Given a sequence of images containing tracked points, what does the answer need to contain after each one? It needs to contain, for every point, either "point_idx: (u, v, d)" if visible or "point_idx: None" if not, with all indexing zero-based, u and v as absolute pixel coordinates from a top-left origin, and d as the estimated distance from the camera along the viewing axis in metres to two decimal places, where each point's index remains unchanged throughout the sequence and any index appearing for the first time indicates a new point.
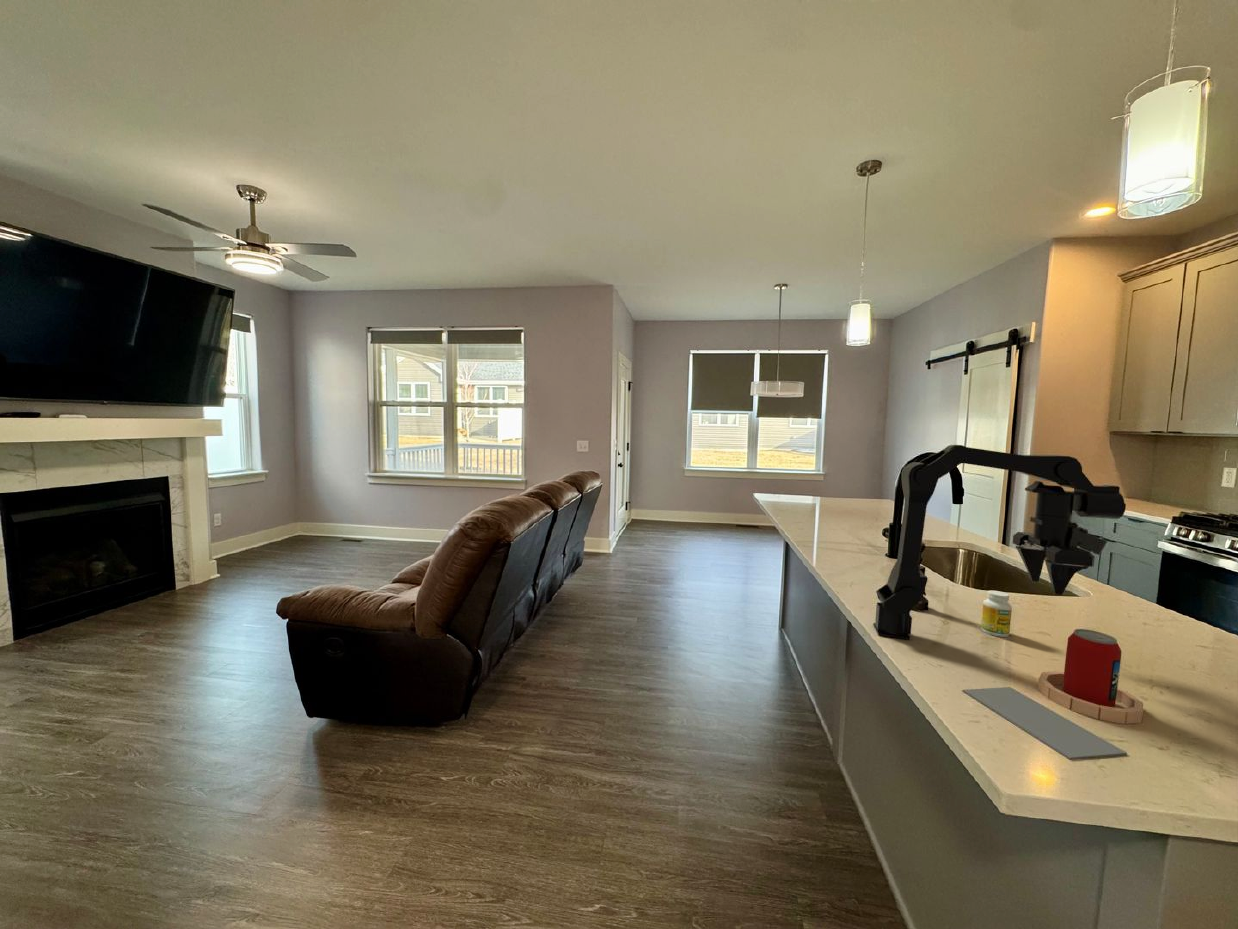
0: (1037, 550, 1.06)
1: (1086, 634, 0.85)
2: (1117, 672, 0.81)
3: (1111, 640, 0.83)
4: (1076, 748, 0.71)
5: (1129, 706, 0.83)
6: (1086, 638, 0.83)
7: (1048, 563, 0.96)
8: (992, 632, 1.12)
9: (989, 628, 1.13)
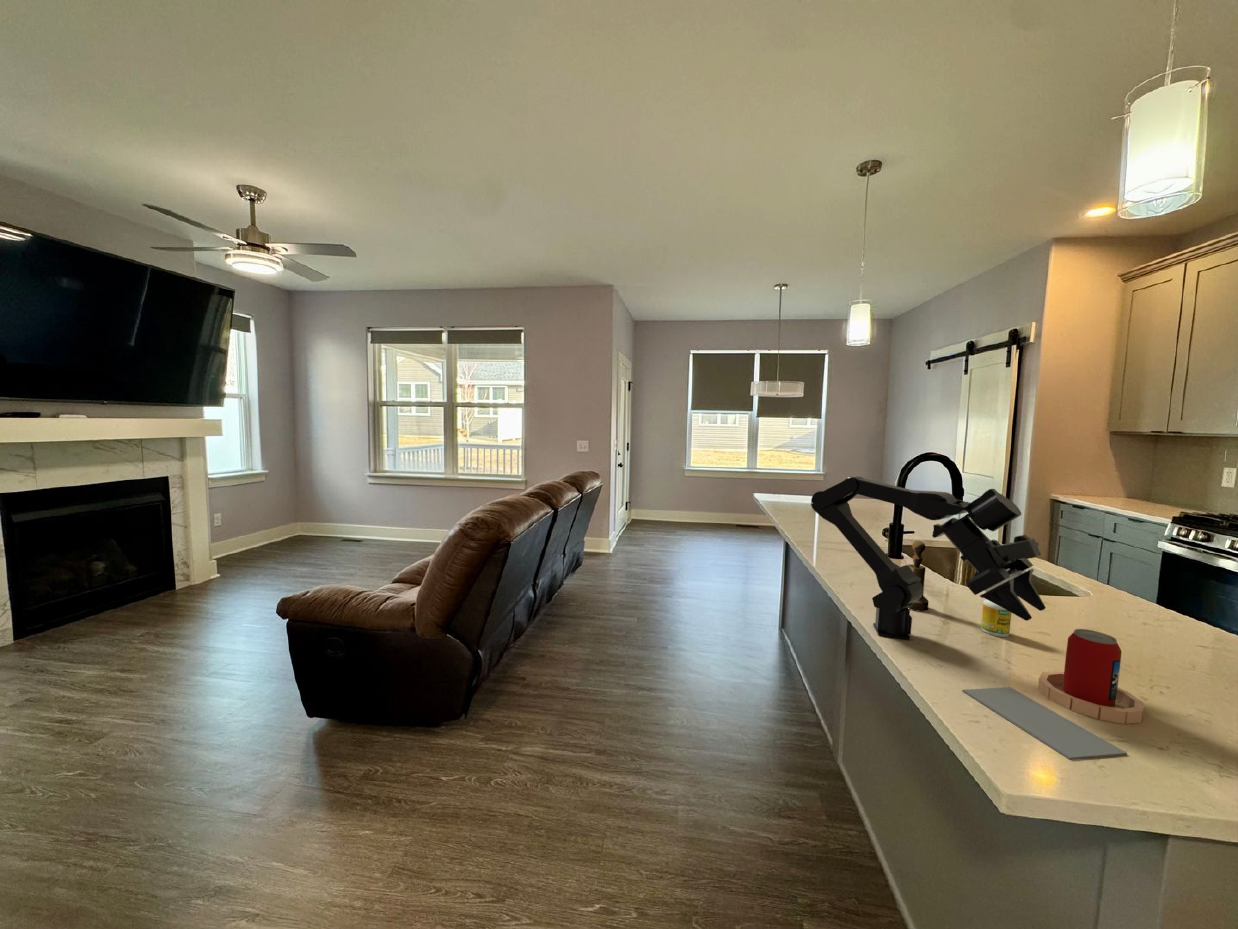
0: (1016, 577, 0.97)
1: (1086, 634, 0.85)
2: (1117, 672, 0.81)
3: (1111, 640, 0.83)
4: (1076, 748, 0.71)
5: (1129, 706, 0.83)
6: (1086, 638, 0.83)
7: None
8: (992, 632, 1.12)
9: (989, 628, 1.13)
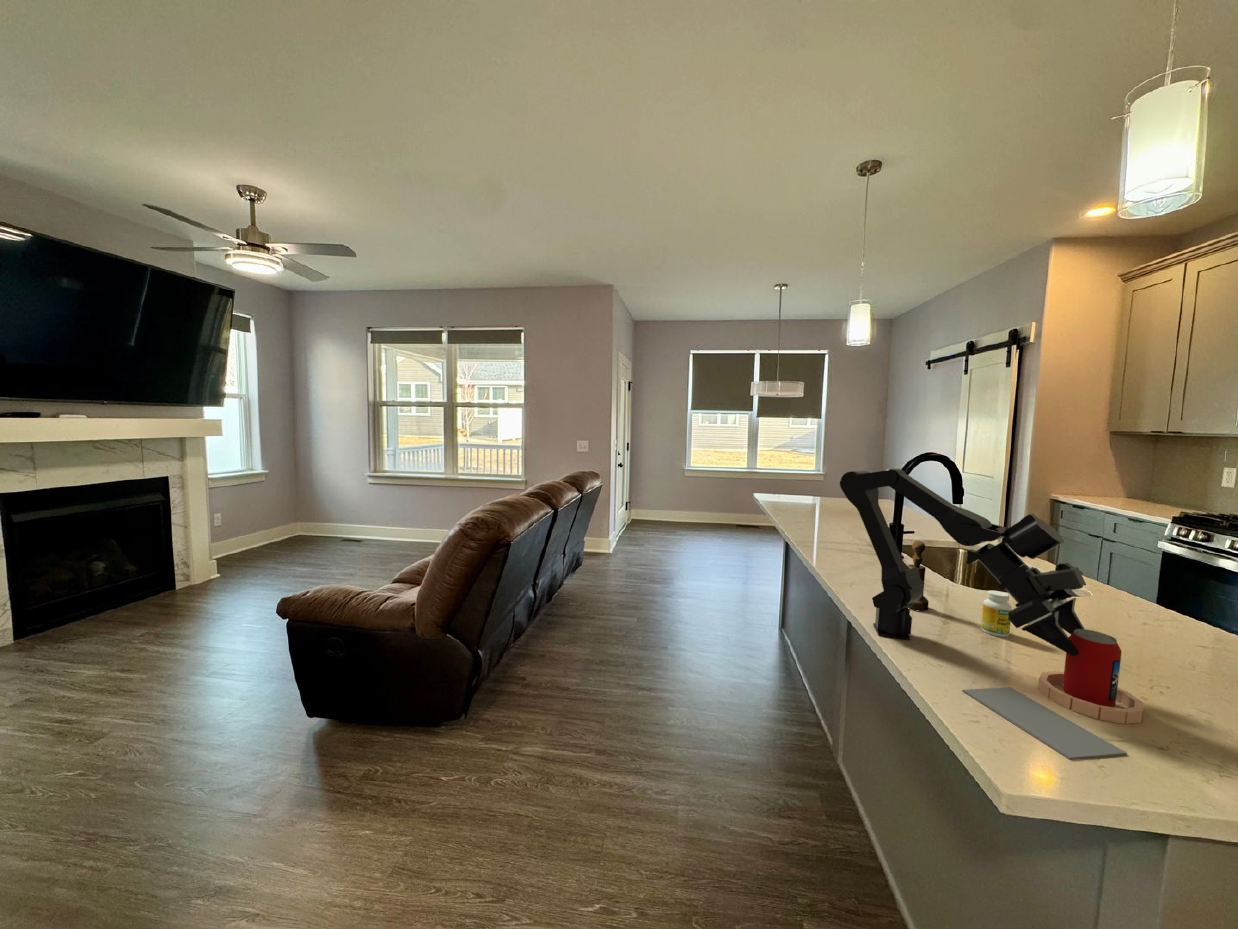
0: (1058, 607, 0.92)
1: (1086, 634, 0.85)
2: (1117, 672, 0.81)
3: (1111, 640, 0.83)
4: (1076, 748, 0.71)
5: (1129, 706, 0.83)
6: (1086, 638, 0.83)
7: None
8: (992, 632, 1.12)
9: (989, 628, 1.13)
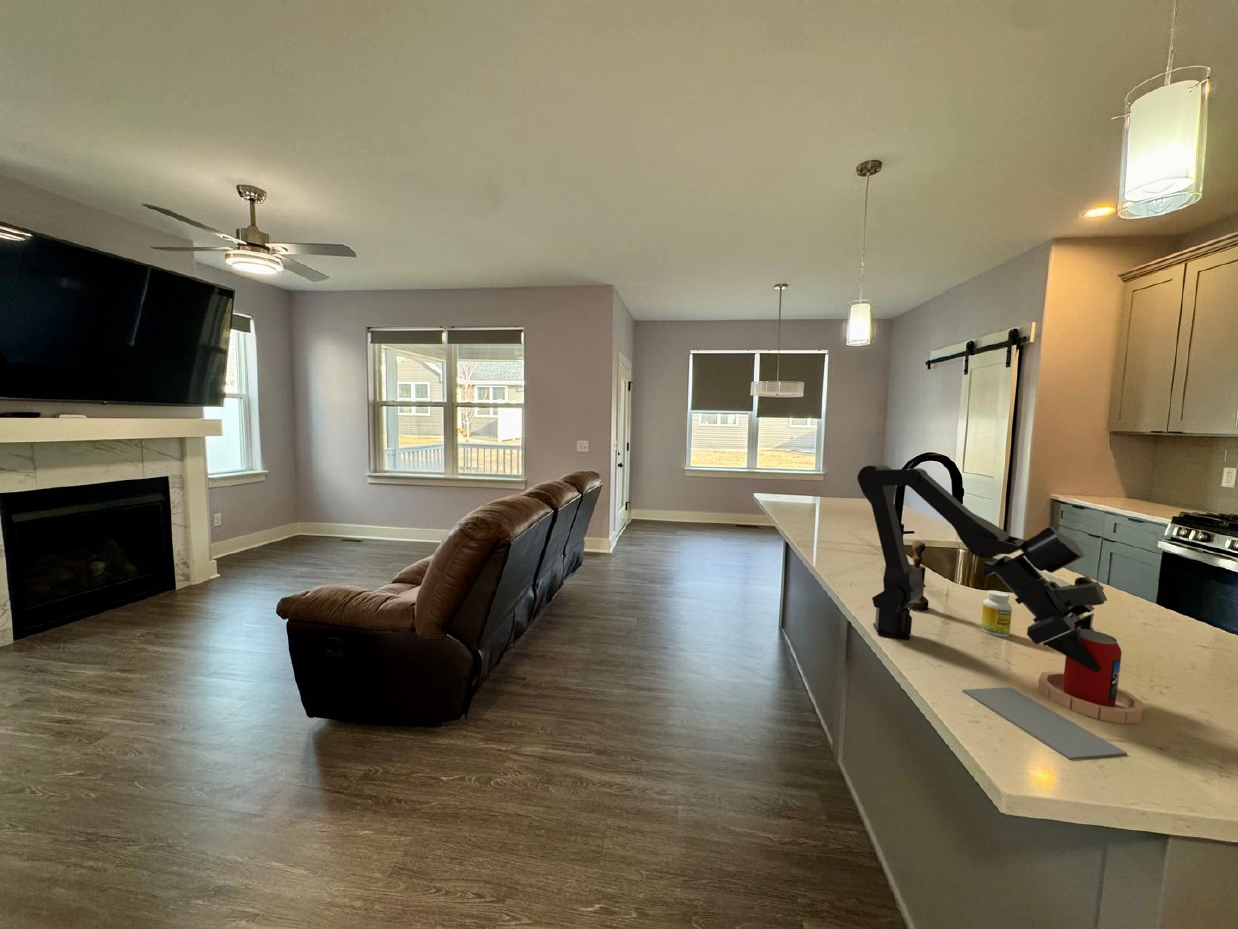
0: (1075, 623, 0.89)
1: (1086, 634, 0.85)
2: (1117, 672, 0.81)
3: (1111, 640, 0.83)
4: (1076, 748, 0.71)
5: (1129, 706, 0.83)
6: (1086, 638, 0.83)
7: None
8: (992, 632, 1.12)
9: (989, 628, 1.13)
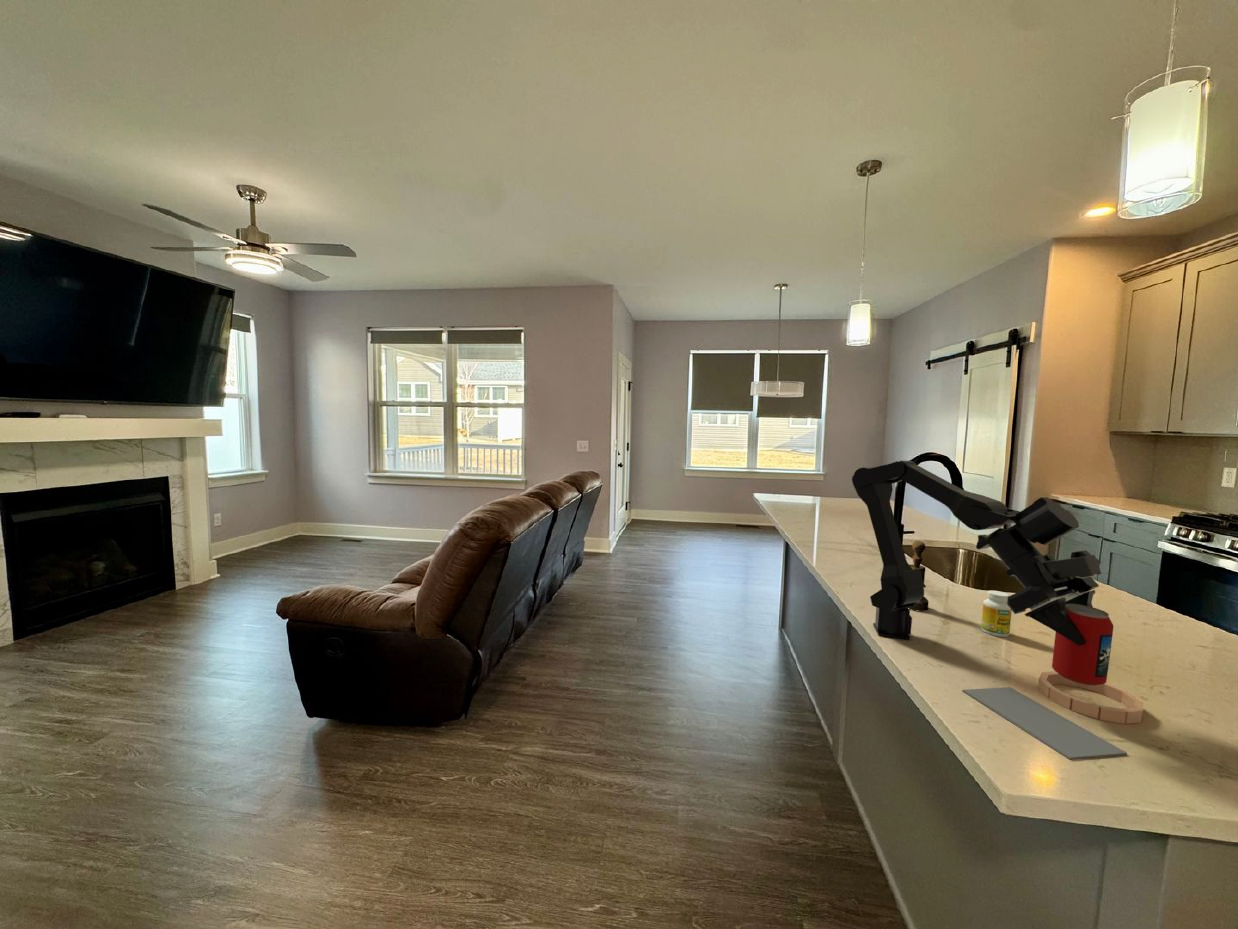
0: (1073, 599, 0.85)
1: (1077, 608, 0.81)
2: (1106, 648, 0.78)
3: (1102, 615, 0.79)
4: (1076, 748, 0.71)
5: (1129, 706, 0.83)
6: (1073, 611, 0.80)
7: None
8: (992, 632, 1.12)
9: (989, 628, 1.13)
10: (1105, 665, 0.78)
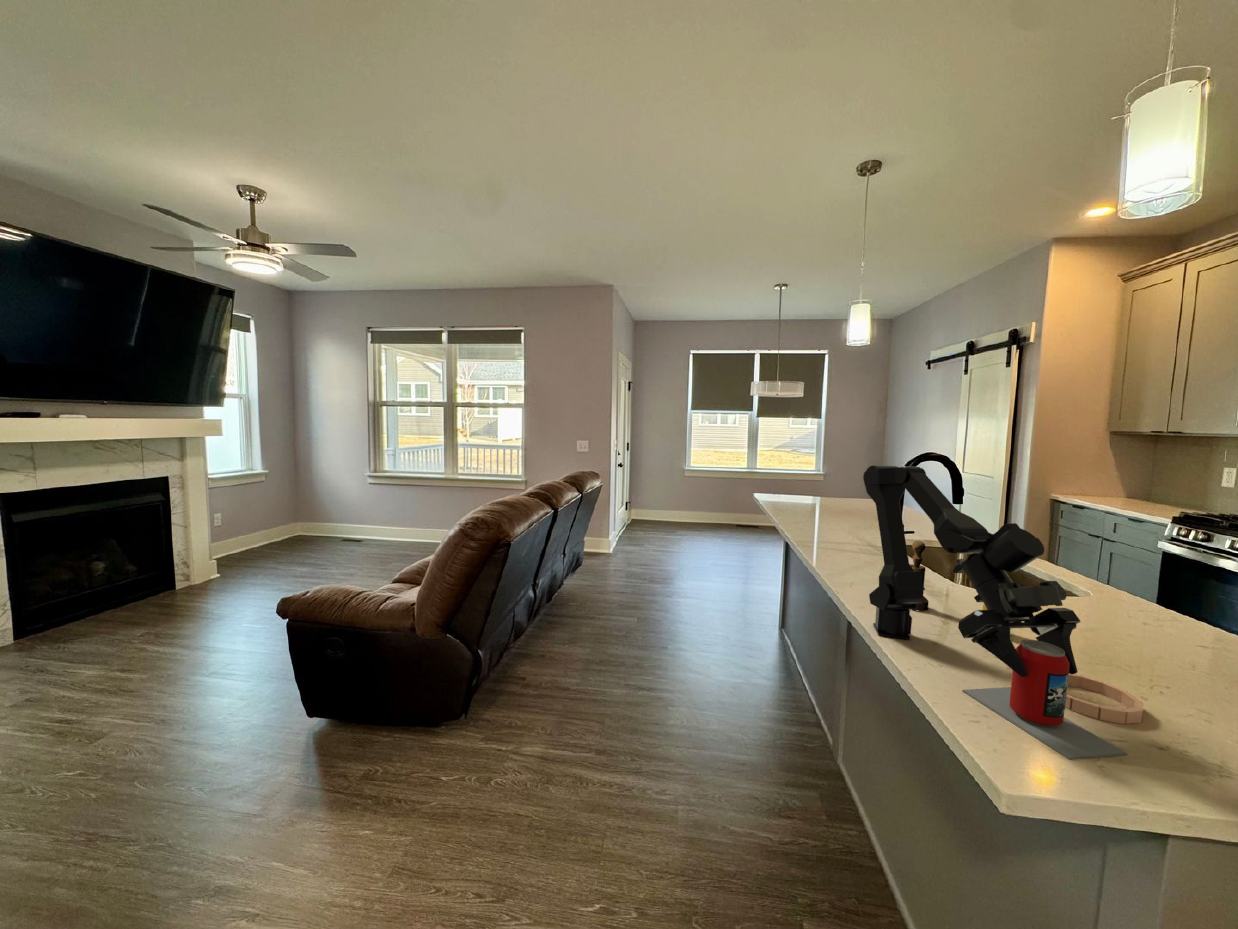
0: (1050, 631, 0.82)
1: (1034, 644, 0.79)
2: (1056, 687, 0.75)
3: (1057, 653, 0.76)
4: (1076, 748, 0.71)
5: (1129, 706, 0.83)
6: (1025, 646, 0.78)
7: None
8: None
9: None
10: (1056, 706, 0.75)
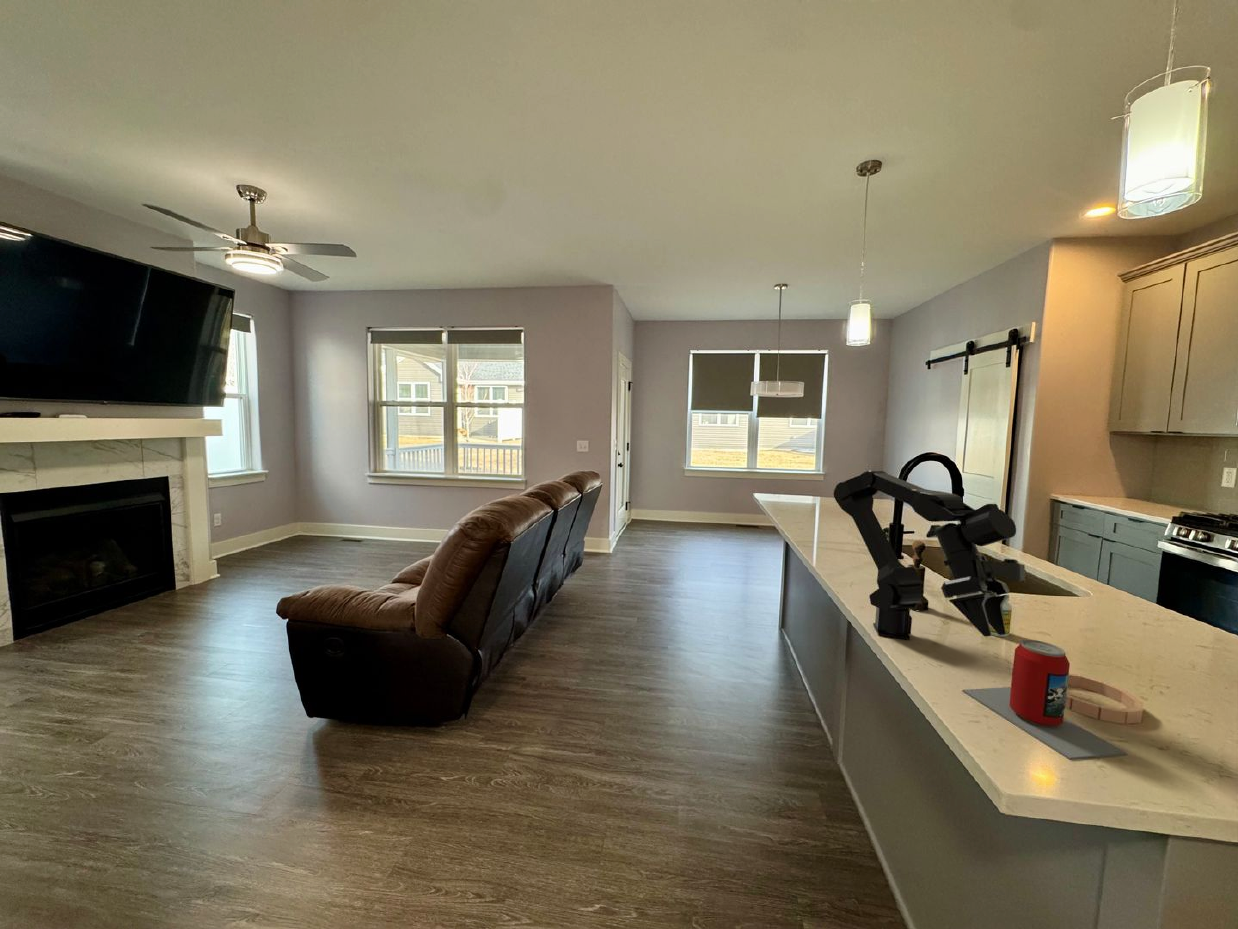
0: (989, 598, 0.95)
1: (1034, 644, 0.79)
2: (1056, 687, 0.75)
3: (1056, 653, 0.76)
4: (1076, 748, 0.71)
5: (1129, 706, 0.83)
6: (1025, 646, 0.78)
7: None
8: (992, 632, 1.12)
9: None
10: (1056, 706, 0.75)
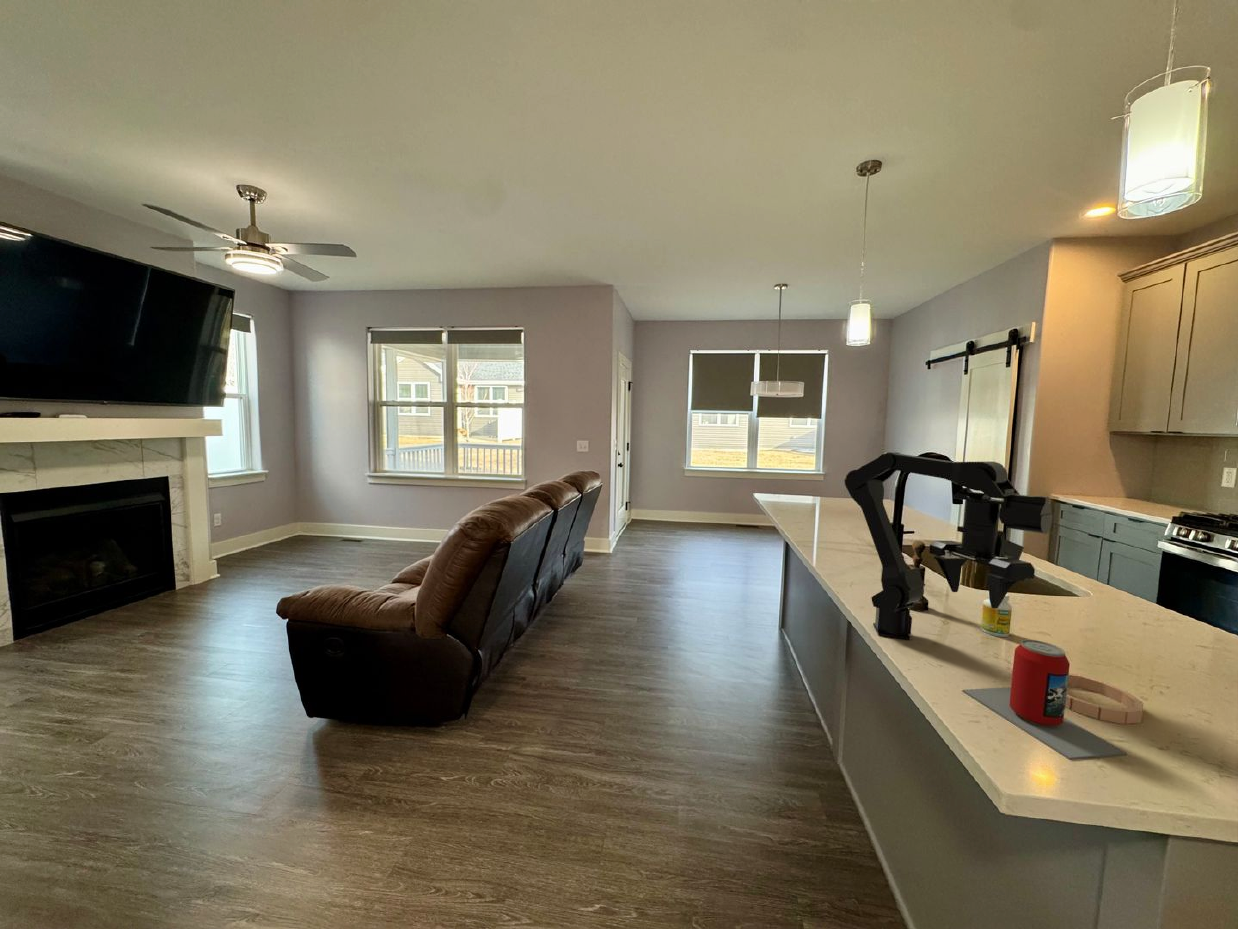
0: (955, 559, 1.02)
1: (1034, 644, 0.79)
2: (1056, 687, 0.75)
3: (1056, 653, 0.76)
4: (1076, 748, 0.71)
5: (1129, 706, 0.83)
6: (1025, 646, 0.78)
7: (993, 578, 0.90)
8: (992, 632, 1.12)
9: (989, 628, 1.13)
10: (1056, 706, 0.75)
